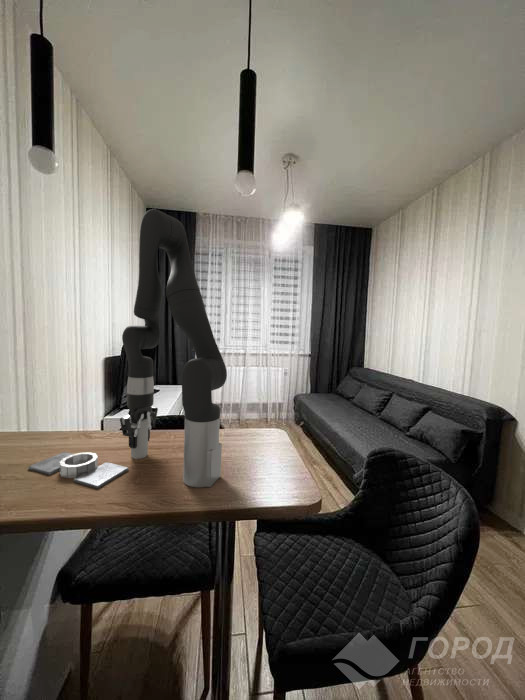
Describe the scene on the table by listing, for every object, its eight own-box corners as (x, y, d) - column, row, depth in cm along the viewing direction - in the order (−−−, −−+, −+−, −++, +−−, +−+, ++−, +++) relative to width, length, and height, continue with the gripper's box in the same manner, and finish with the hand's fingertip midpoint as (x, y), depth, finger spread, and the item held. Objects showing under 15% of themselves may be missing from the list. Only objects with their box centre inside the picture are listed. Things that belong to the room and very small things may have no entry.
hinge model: (128, 470, 79) (128, 459, 78) (97, 488, 69) (97, 477, 69) (64, 454, 86) (64, 444, 86) (28, 469, 77) (28, 458, 76)
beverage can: (127, 457, 86) (127, 419, 85) (140, 451, 91) (141, 415, 90) (138, 461, 84) (138, 422, 83) (151, 455, 88) (151, 418, 87)
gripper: (133, 397, 78) (132, 456, 79) (165, 387, 91) (164, 438, 93) (111, 394, 80) (111, 451, 81) (146, 385, 94) (145, 434, 95)
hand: (139, 444), depth 87 cm, fingers closed on beverage can, 5 cm apart
